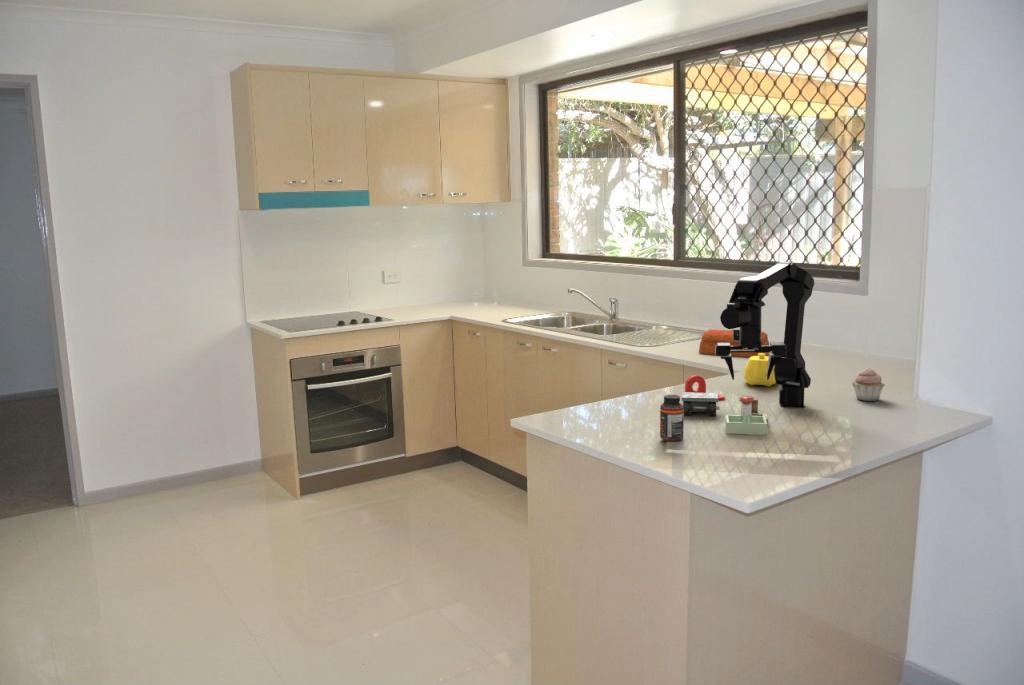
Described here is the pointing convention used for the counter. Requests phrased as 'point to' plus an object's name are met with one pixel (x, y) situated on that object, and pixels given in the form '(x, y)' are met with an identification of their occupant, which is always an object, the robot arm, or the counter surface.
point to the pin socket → (760, 415)
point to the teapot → (758, 371)
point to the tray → (746, 425)
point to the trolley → (700, 402)
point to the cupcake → (868, 385)
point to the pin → (746, 408)
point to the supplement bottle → (671, 419)
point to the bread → (726, 336)
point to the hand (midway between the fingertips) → (750, 379)
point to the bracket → (701, 386)
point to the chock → (754, 403)
